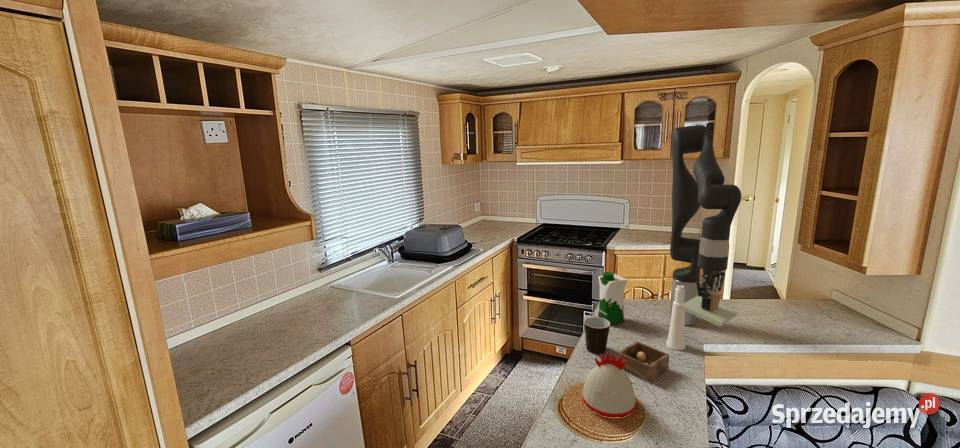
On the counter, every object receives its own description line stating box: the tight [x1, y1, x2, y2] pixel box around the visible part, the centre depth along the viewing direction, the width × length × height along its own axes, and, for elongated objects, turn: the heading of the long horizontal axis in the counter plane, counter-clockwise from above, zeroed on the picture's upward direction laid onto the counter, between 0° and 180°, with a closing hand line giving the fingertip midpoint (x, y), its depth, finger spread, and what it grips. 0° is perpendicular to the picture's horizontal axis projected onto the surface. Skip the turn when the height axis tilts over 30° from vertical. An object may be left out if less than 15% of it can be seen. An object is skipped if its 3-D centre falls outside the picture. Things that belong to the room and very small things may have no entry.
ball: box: [636, 352, 646, 361], centre depth 127 cm, size 3×3×3 cm
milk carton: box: [597, 271, 628, 326], centre depth 155 cm, size 9×9×20 cm
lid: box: [680, 291, 739, 328], centre depth 118 cm, size 12×12×6 cm
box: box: [616, 340, 670, 384], centre depth 124 cm, size 11×11×5 cm
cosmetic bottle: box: [665, 285, 687, 351], centre depth 134 cm, size 6×6×22 cm
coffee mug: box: [583, 316, 611, 355], centre depth 134 cm, size 12×9×10 cm
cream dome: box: [581, 350, 636, 417], centre depth 107 cm, size 14×14×15 cm
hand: (708, 307), depth 119 cm, fingers closed on lid, 3 cm apart
